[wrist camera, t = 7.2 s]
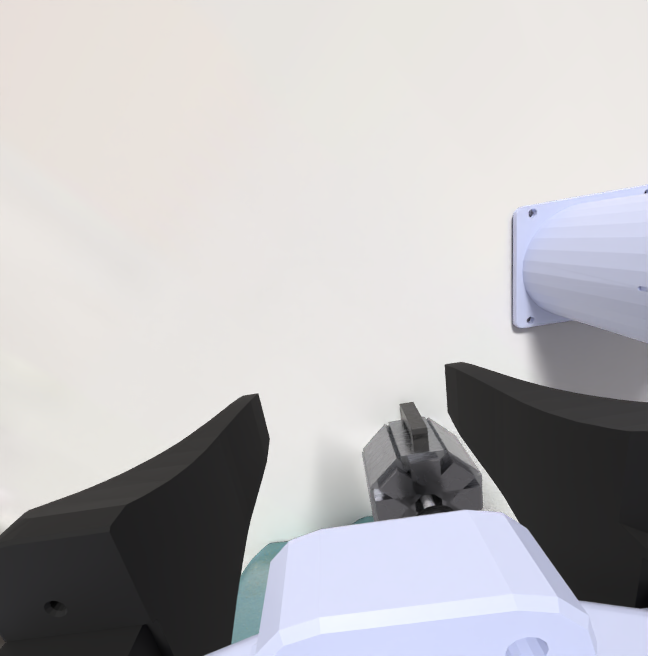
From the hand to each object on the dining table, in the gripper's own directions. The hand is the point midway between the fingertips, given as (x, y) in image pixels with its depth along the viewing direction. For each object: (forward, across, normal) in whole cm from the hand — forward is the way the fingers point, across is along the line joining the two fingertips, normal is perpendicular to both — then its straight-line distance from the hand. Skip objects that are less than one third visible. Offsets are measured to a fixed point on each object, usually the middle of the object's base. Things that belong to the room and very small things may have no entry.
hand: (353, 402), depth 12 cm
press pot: (+10, -4, +12) cm, 16 cm away
